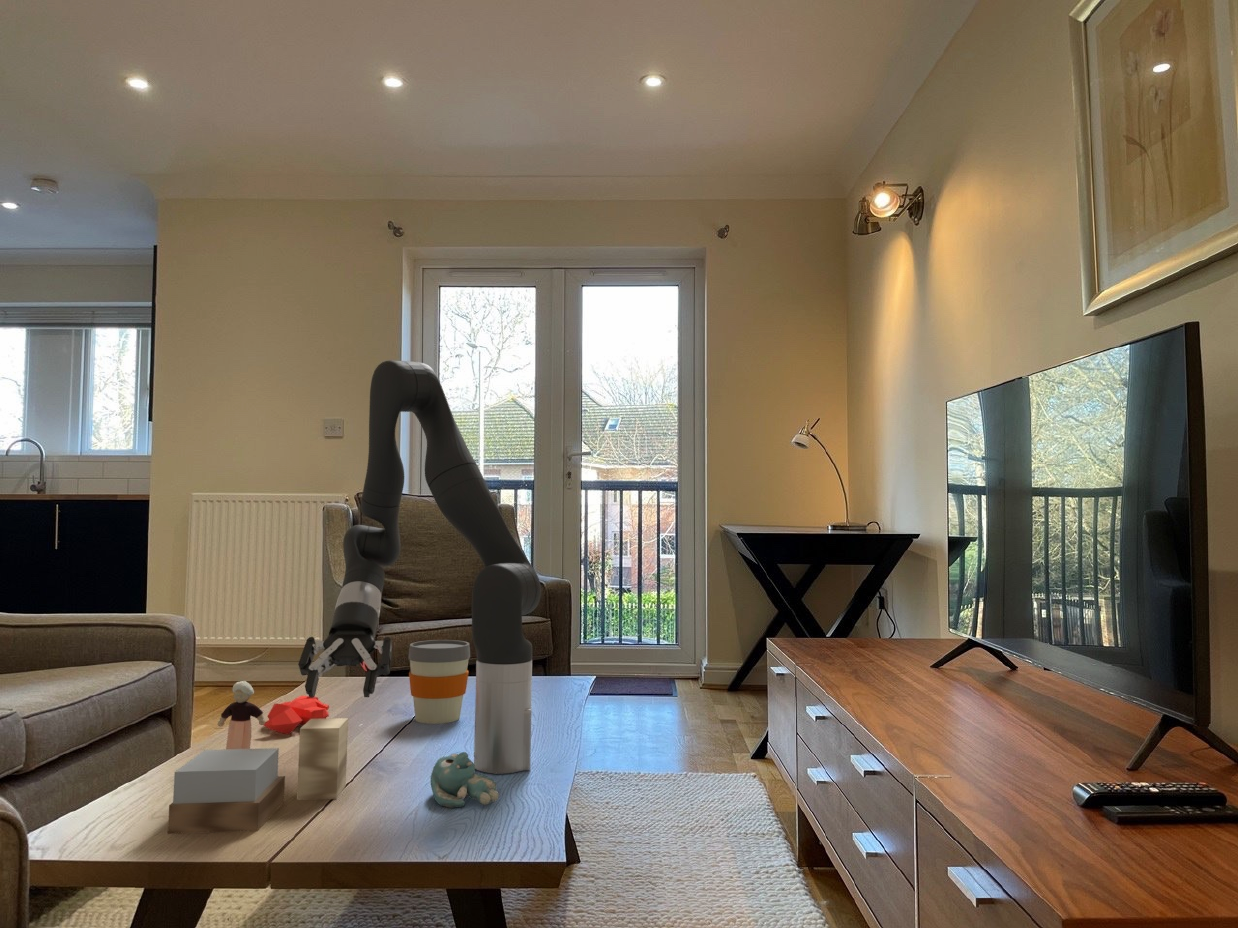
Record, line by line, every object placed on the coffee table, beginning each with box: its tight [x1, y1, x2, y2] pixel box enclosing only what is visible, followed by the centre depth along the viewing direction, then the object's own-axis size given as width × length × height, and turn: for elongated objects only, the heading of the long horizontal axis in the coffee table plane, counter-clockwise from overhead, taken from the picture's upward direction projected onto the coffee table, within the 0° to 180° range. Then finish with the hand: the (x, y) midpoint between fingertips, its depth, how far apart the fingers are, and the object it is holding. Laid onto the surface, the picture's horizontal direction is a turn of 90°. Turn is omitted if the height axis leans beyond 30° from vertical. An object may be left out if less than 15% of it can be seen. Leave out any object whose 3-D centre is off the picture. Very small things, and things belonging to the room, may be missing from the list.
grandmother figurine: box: [217, 680, 266, 749], centre depth 135 cm, size 8×4×13 cm, turn 105°
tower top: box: [172, 747, 280, 804], centre depth 108 cm, size 10×10×4 cm
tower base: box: [167, 775, 286, 834], centre depth 108 cm, size 11×11×4 cm
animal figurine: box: [263, 695, 330, 735], centre depth 155 cm, size 12×15×5 cm
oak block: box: [296, 717, 349, 801], centre depth 118 cm, size 6×6×10 cm
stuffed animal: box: [430, 751, 500, 809], centre depth 116 cm, size 11×7×12 cm
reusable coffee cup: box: [407, 639, 471, 725], centre depth 164 cm, size 13×13×15 cm
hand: (338, 694), depth 127 cm, fingers open, 8 cm apart
